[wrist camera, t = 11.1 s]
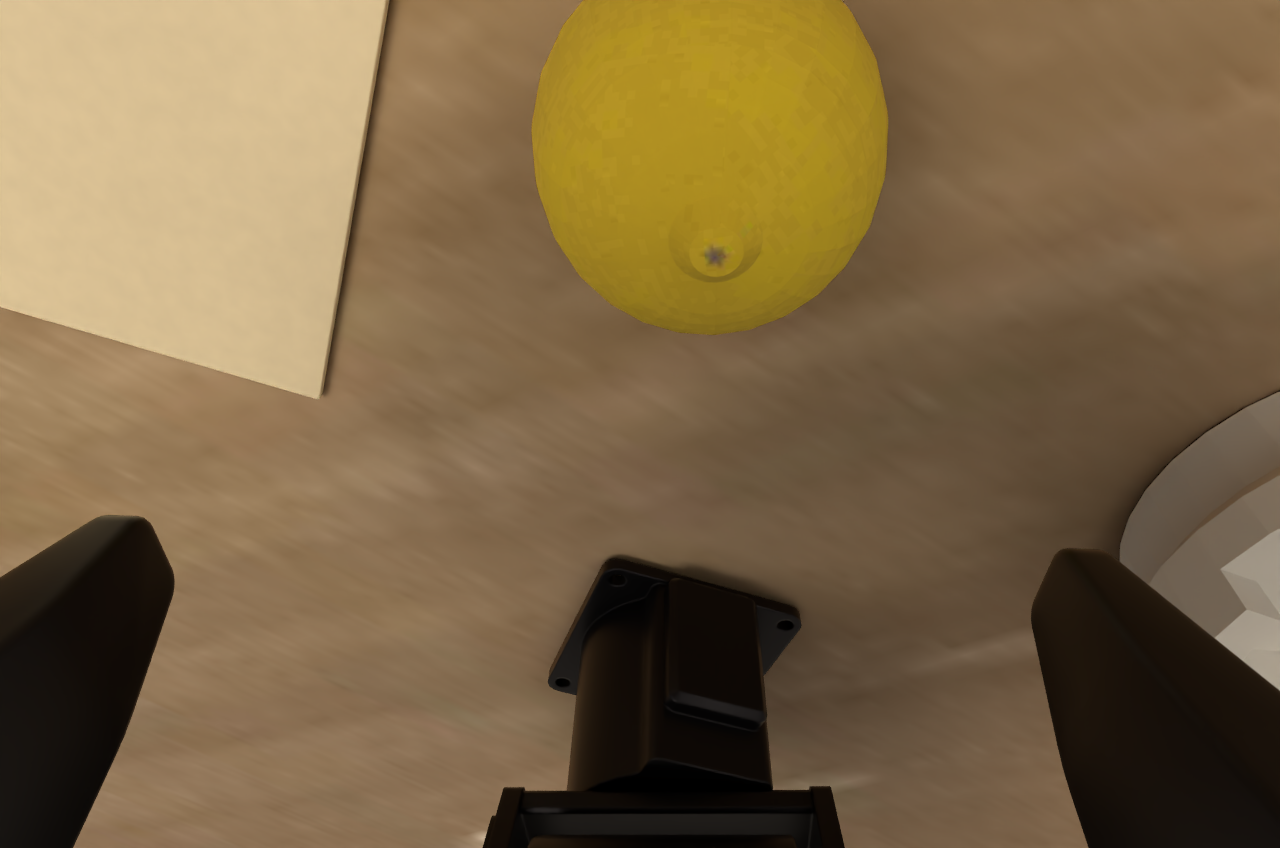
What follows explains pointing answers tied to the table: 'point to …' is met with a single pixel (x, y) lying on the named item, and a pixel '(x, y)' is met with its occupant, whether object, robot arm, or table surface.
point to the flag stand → (1219, 535)
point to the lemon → (710, 154)
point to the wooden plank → (186, 173)
